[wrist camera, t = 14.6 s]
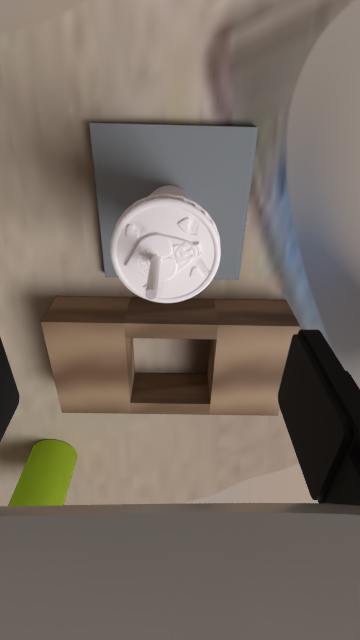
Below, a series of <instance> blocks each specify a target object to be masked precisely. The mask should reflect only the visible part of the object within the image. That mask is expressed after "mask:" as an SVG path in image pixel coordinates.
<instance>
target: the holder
mask: <svg viewBox="0 0 360 640" xmlns="http://www.w3.org/2000/svg"><path fill="white" fill-rule="evenodd" d="M41 325H42V329H43V334H44V338H45V342H46V347H47V351H48V355H49V359H50V364H51V368H52V372H53V376H54V381H55V385H56V389H57V394H58V398H59V402H60V406H61V411H62V413H127V414H200V415H272V416H278V412H279V408H280V407H279V403H278V392H279V388H280V384H281V380H282V376H283V372H284V368H285V364H286V360H287V356H288V352H289V348H290V344H291V340H292V336H293V335H294V334H298V332H299V329H300V325H299V323H298V321H297V319H296V318H295V316H294V314H293V312H292V310H291V308H290V306H289V304H288V302H287V301H286V300H236V299H187V300H184V301H180V302H175V303H159V302H153V301H150V300H147V299H144V298H129V297H76V296H56V298H55V300H54V301H53V303H52V305H51V306H50V308H49V309H48V311H47V313H46V314H45V316H44V317H43V319H42V321H41ZM133 338H166V339H210V348H209V360H208V372H207V374H180V373H135V365H134V349H133Z"/></svg>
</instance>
